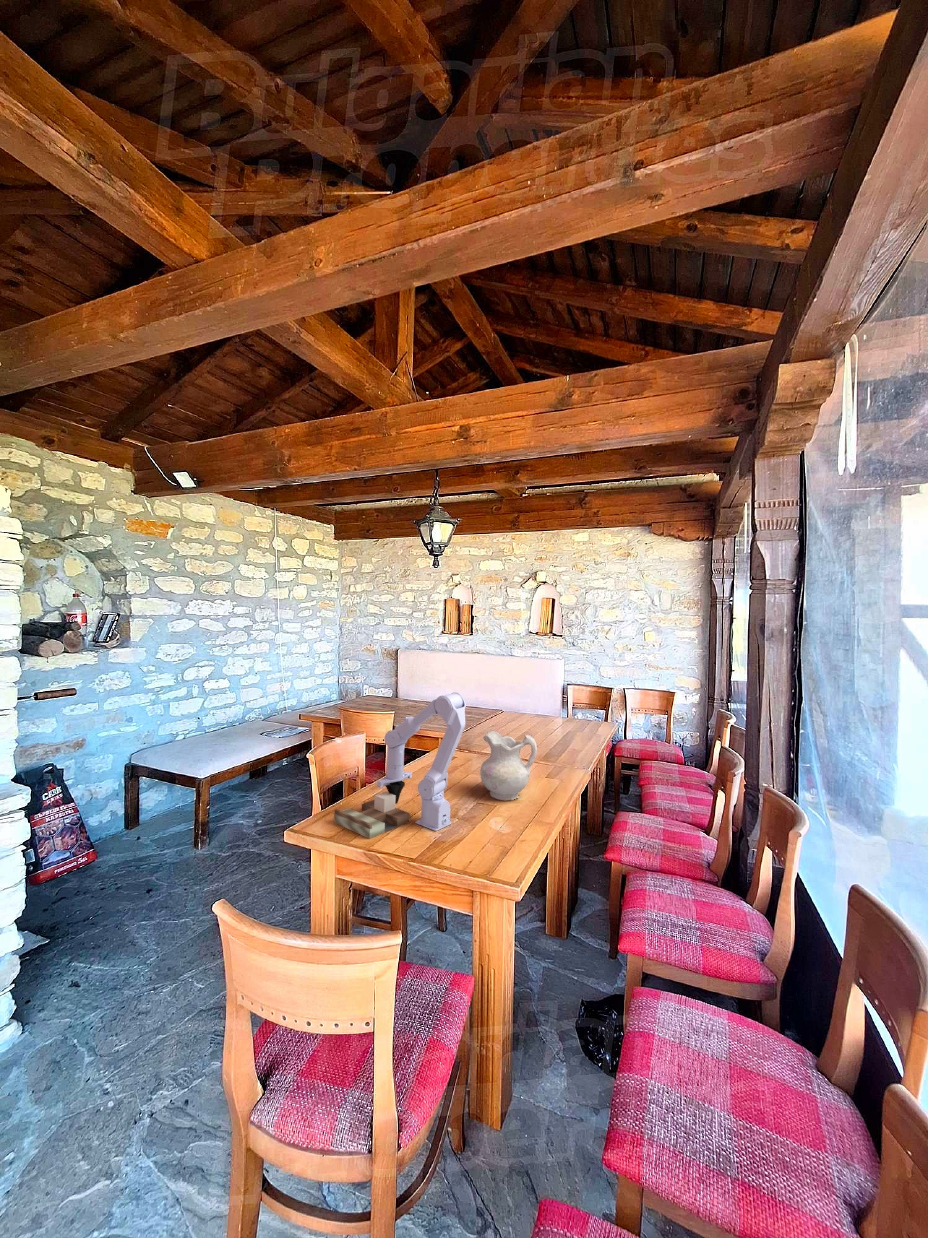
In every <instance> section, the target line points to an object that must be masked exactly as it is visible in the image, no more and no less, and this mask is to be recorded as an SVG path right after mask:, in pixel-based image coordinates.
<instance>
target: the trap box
mask: <svg viewBox="0 0 928 1238" xmlns="http://www.w3.org/2000/svg"><path fill="white" fill-rule="evenodd" d="M374 801H375V799H371V800H369V801H367V802H362V804H361V811H360V812H358V811H357V810H354V809H352V808H350V807H349V808H346V809H344V810H340V809H337V808H336V809H334V814H333V815H334V816H333V817H334V818H333V819H334V820H333V822H334V823H335V824H337V825H338V826H341V827H343V828H345V829H347V830H350V831H352V832H354V833H355V834H359V835H361V836H363V837H364V838H367V839H369V840H370V839H373V838H375V837H378V836H380V835H383V834H385V833H387V832H389V831H392V830H394V829H396V828H400V827H401V826H404V825H406V824H408V823H410V817H411V815H410V814H411V813H410V812H408V811H404V810H403V809H400V808H397V807H395V809H393V810H390V811H387V812H385V813H384V812H381V811H379V810H376V809H374Z"/></svg>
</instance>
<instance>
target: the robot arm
mask: <svg viewBox="0 0 928 1238" xmlns="http://www.w3.org/2000/svg"><path fill="white" fill-rule="evenodd" d="M466 706H467V703H466V701H465V699H464V697H463V695H462V694H461V693H459V692H452V693H449V694H444V695H440V696H438V697H437V698H436V699H433V700H432V701H431V702H430V703H429V704H427V705H426V706H425V707H424V708H423V709H422V710H421V711H420V712H418V713H417V714H416V715H415V716H406V717H405V718H403V721H402V722H401V723H400V724H396V725H395V726H394V729H392V730H388V731H386V733H385V735H384V737H383V738H384V743H385V745H386V746H387V752H386V753H387V755H386V757H387V758H386V764H387V765H386V774H385V776H384V777H382V778H381V779H379V780H377V782H376V787H377V788H380V789H381V788H383V787H386V790H387V792H388V793H391V794H393V795H396V799H395V805H397V804H398V803H399V800H400V796H401V793H402V791H403V789H404V787H405V785H406V782H405V781H404V780H408V779H412V777H413V772H411V771H404V766H405V763H404V762H405V748H406V744H407V742H408V740H409V739H410V738H411V737H413V736H414V735H416V733H418V732H420V730H421V725H422V724H424V722H426V721H427V720H429V719H430V718H432V717H433V716H434V715H437V714H438V715H439V716H440V718H441V719H442V720H443V721H444V722H445V724H446V726H447V727H446V730H445V732H444V735H443V737H442V739H441V742H440V745H439V747H438V749H437V752H436V753H435V757H434V759H433V762H432V765H431V768H430V769H429V770H428V771H427V772H426V773H425V775H424V776H423V779H421V780H420V781H419V783H418V785H417V792H418V794H419V796H420V798H421V809H420V810H421V812H420V819H418V820H416V821H415V824H417V825H419V826H422V827H425V828H427V829H430V830H432V831H435V832H437V831H439V830H441V829H444V828H445V827H448V826H449V825H451V824H452V821H451V804H450V802H449V801H448V800H447V799H446V798H445V796H444V793H445V791H446V789H447V787H448V777H449V773H448V770H449V767H450V765H451V762H452V760H453V757H454V754H455V752H456V750H457V747H458V745H459V742H460V741H461V738H462V735H463V733H464V731H465V729H466V711H465V710H466Z"/></svg>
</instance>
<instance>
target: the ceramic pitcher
mask: <svg viewBox="0 0 928 1238" xmlns="http://www.w3.org/2000/svg"><path fill="white" fill-rule="evenodd" d="M523 737H524V738H523V739H522V740H516V739H514V737H512V736H507V735H505V736H502V735H501V734H500V733H499V731H494V730H490V731H487V733H486V734H485V735H483V737H482V738H483V740H484V742H486V743H487V744H488V745H489V748H490V756H489V757H488V758H487V759H486V760H485V761H483V762H482V764H481V766H480V772H479V773H480V780H481V782H482V784H483V785H484V787H485V788H486V789H487V790H488V791H489V795H490V797H491V798H493V799H495V800H498V801H501V800H504V801H514V799H515V798H517V797H519V798H520V796H518V794H519V793H520V792H522V791H523V790H524V789H525V788H526V787H527V785H528V783H529V780H530V775H531V766H532V765H533V764H534V762H535V759H536V757H537V753H538V745H537V742H536V740H535V737H534V736H533V734H524V735H523ZM527 745H529V746H530V748H531V753H530V754H529V755H530V756H529V758H528V760H527V763H526V762H524V761H523V760H522V758H521V756H520V755H521V754H520V753H521V749H522V748H523V747H525V746H527ZM515 800H516V799H515ZM504 801H503V802H504Z"/></svg>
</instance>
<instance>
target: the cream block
mask: <svg viewBox="0 0 928 1238" xmlns="http://www.w3.org/2000/svg"><path fill="white" fill-rule="evenodd" d="M395 799H396V795H393V794H391V793H389V792H388V791H384V792H380V793H378V794H375V795H374V800H375V801H374V809H376V810H379V811H381V812H384V813H385V812H387V811H390V810H393V809H395V808H396V804H395Z"/></svg>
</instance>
